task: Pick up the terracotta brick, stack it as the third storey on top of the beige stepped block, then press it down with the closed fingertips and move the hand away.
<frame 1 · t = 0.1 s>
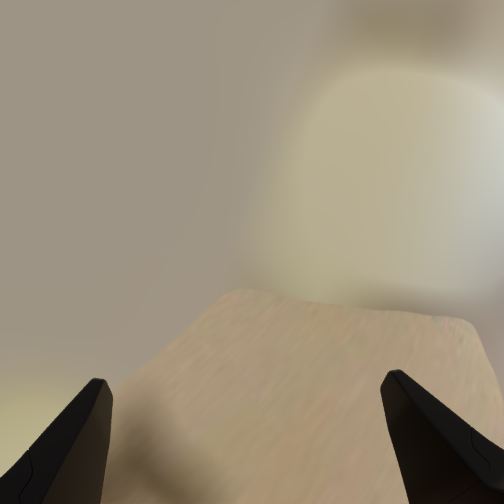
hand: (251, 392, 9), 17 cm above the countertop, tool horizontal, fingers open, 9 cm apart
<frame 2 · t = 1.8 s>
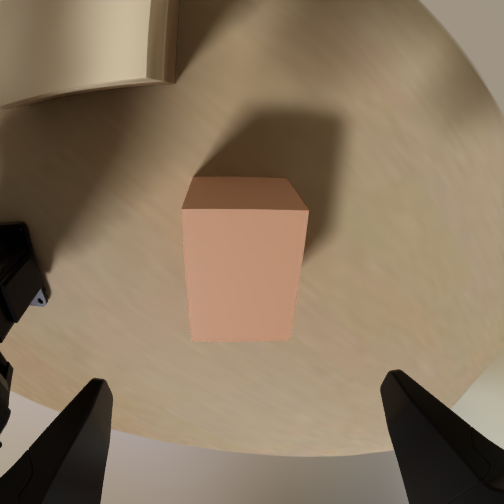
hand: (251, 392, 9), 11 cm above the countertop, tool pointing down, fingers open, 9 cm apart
brick: (238, 235, 18), on the countertop
beige stepped block: (99, 0, 11), on the countertop
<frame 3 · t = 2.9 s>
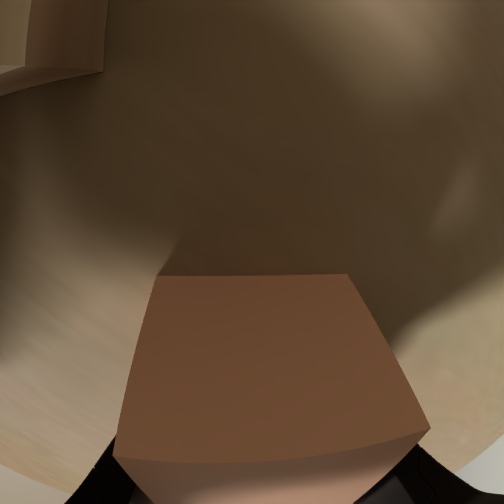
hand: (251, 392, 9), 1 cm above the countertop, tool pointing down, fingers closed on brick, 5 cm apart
brick: (249, 363, 10), on the countertop, touching gripper
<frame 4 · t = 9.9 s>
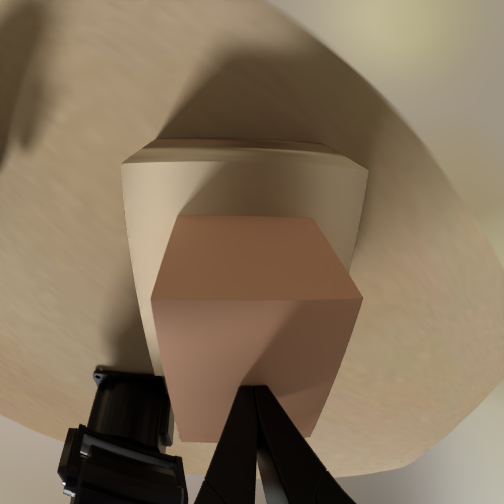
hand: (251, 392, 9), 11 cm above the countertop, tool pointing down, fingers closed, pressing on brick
brick: (242, 294, 13), point 6 cm above the countertop, touching gripper, beige stepped block
beige stepped block: (236, 233, 18), on the countertop
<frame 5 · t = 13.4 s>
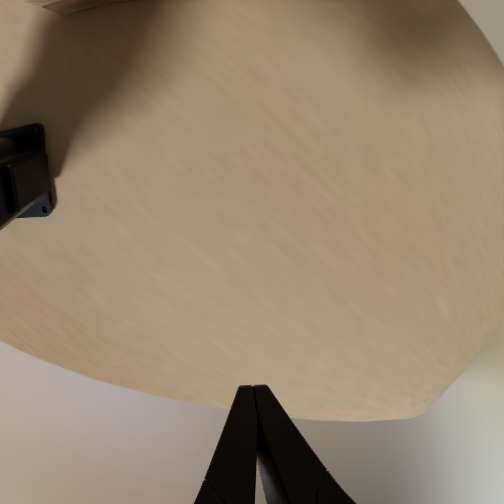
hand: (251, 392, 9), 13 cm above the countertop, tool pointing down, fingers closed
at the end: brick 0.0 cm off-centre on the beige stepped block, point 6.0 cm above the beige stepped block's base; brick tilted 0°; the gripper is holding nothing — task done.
